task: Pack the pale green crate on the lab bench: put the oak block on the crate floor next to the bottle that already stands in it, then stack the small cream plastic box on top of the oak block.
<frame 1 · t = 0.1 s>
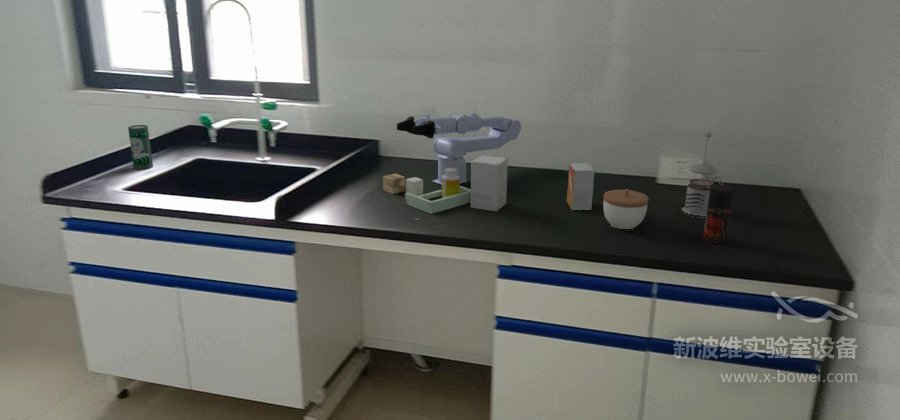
hand: (405, 128, 220), 22 cm above the countertop, tool horizontal, fingers open, 7 cm apart
can: (143, 167, 251), on the countertop
supplement bottle: (450, 200, 221), resting in crate
cream box: (414, 194, 227), on the countertop
lidded bowl: (622, 226, 202), on the countertop
deodorant: (714, 240, 192), on the countertop
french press: (699, 213, 214), on the countertop
oak block: (393, 191, 230), on the countertop
crate: (440, 202, 219), on the countertop
small box: (578, 207, 217), on the countertop
supplement box: (488, 206, 217), on the countertop
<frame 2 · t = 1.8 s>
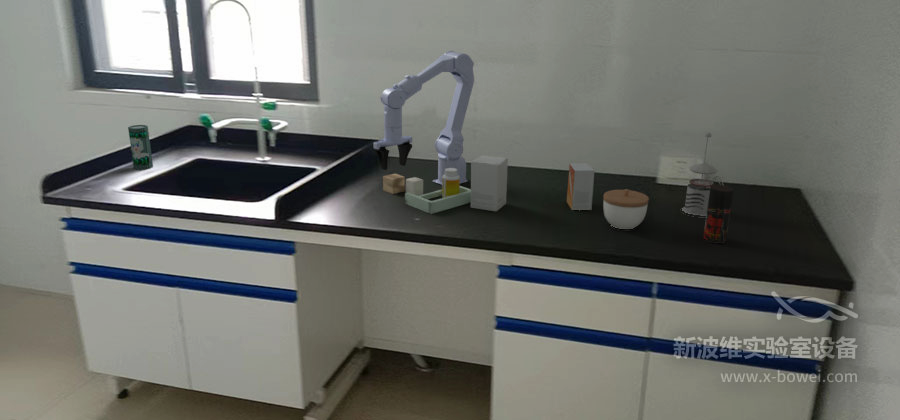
hand: (393, 167, 227), 8 cm above the countertop, tool pointing down, fingers open, 7 cm apart
nothing on the countertop moved.
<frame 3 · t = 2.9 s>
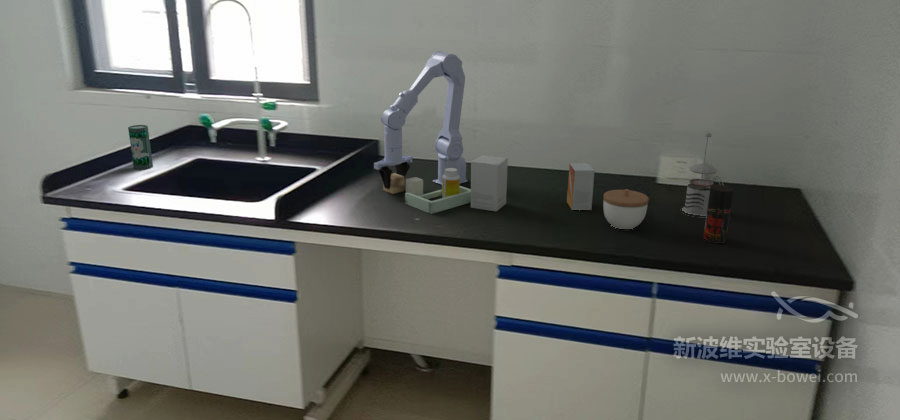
hand: (393, 186, 229), 1 cm above the countertop, tool pointing down, fingers closed on oak block, 5 cm apart
oak block: (393, 190, 230), on the countertop, touching gripper
everything else where it was.
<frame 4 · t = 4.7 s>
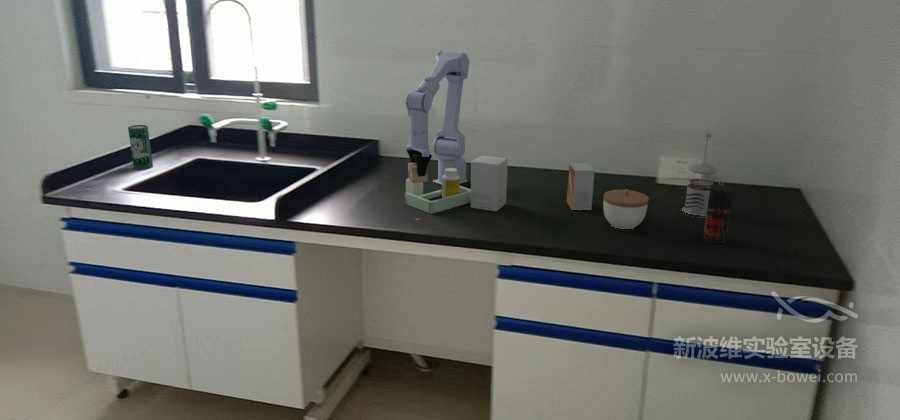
hand: (418, 173, 217), 9 cm above the countertop, tool pointing down, fingers closed on oak block, 5 cm apart
oak block: (417, 179, 218), point 7 cm above the countertop, touching gripper
everything else where it was.
when the fingers open (2 cm above the countertop, at t = 6.9 s): oak block stays where it is, resting in crate.
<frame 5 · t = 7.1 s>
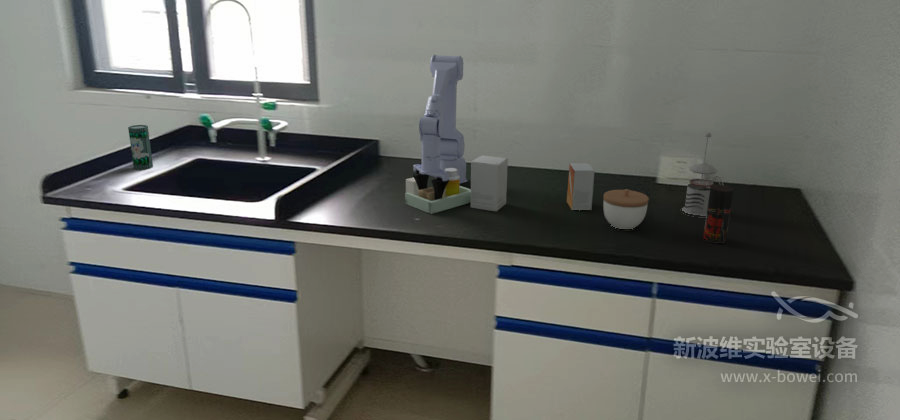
hand: (430, 197, 216), 2 cm above the countertop, tool pointing down, fingers open, 7 cm apart
oak block: (429, 205, 216), resting in crate
everything else where it was.
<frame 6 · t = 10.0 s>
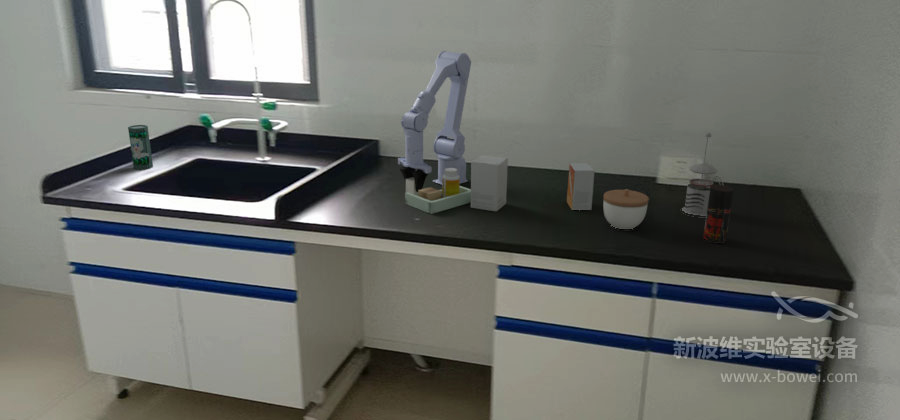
hand: (414, 189, 226), 1 cm above the countertop, tool pointing down, fingers closed on cream box, 4 cm apart
cream box: (414, 193, 227), on the countertop, touching gripper
everything else where it was.
when the fingers open (7 cm above the countertop, at t = 12.7 s): cream box stays where it is, resting on oak block.
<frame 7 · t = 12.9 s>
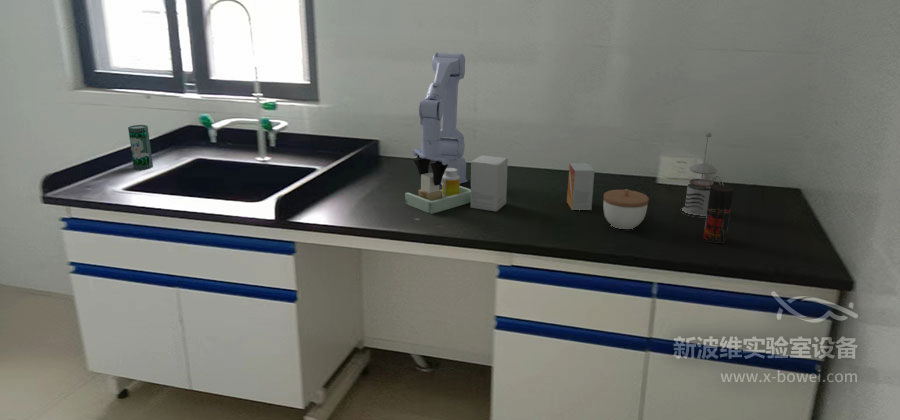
hand: (430, 182, 214), 7 cm above the countertop, tool pointing down, fingers open, 6 cm apart
cream box: (430, 190, 215), point 5 cm above the countertop, touching oak block
oak block: (429, 205, 216), resting in crate, touching cream box
everything else where it was.
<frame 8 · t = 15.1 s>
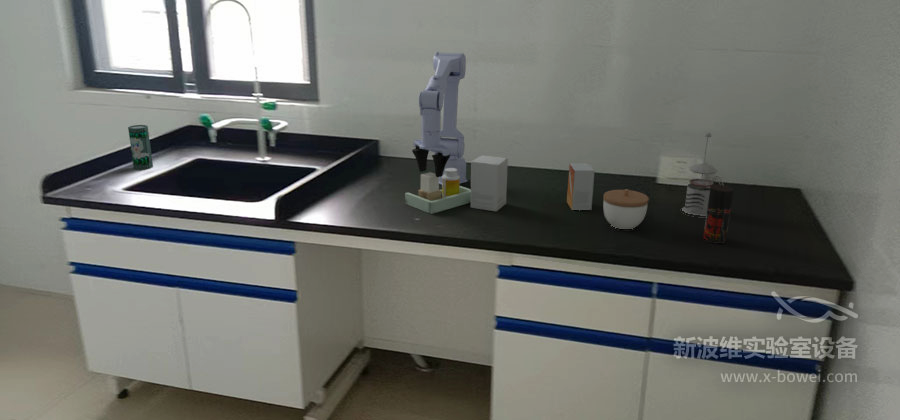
hand: (430, 173, 213), 10 cm above the countertop, tool pointing down, fingers open, 7 cm apart
nothing on the countertop moved.
at the end: oak block inside the target area on the crate (4.4 cm from its centre), point 0.0 cm above the crate's base; cream box 0.1 cm off-centre on the oak block, point 5.0 cm above the oak block's base; cream box tilted 0° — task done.
